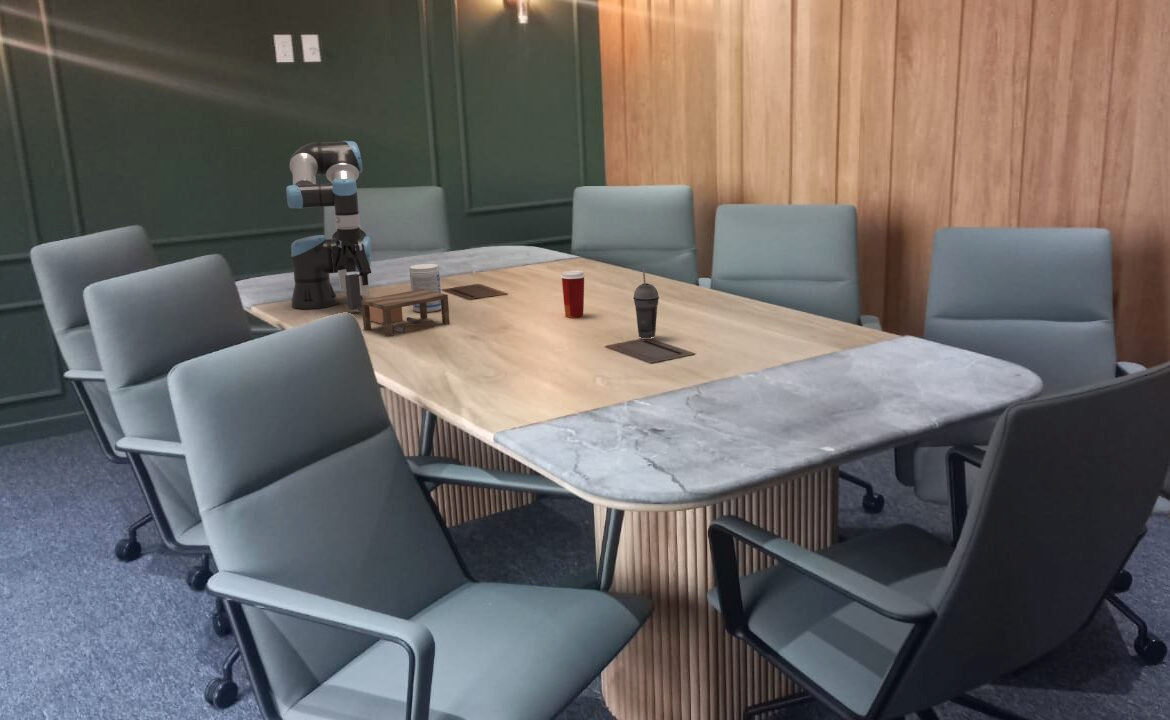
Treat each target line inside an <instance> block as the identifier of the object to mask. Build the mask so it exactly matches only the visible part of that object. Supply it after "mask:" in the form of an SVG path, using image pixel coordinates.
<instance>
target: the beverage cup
mask: <svg viewBox="0 0 1170 720" xmlns="http://www.w3.org/2000/svg"><path fill="white" fill-rule="evenodd" d="M645 270H646V269H645V267H642V276H643V278H642V279H643V283H641V284H640V285H638V286H637V287H636V288H635V290H634V292H633V298H632V299H633V303H634V306H635V314H636V324H637V332H638V338H639V337H641V338H651V337H654V336H655V337H656V331H657V316H658V305H659V299H660V297H659V292H658V290H657V288H656V287H655V286H654V285H653V284H651V283H648V282H646V272H645Z"/></svg>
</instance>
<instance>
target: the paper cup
mask: <svg viewBox="0 0 1170 720" xmlns="http://www.w3.org/2000/svg"><path fill="white" fill-rule="evenodd" d="M585 277H586V275H585V272H584V271H582V270H565V271H562V272H561V275H560V278H561V283H562V284H561V287H562V294H563V295H562V296H563V305H564V315H565V318H567V319H580V317H581V318H583V317H584V306H585V305H584V304H585V303H584V301H585Z"/></svg>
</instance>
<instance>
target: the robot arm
mask: <svg viewBox="0 0 1170 720" xmlns="http://www.w3.org/2000/svg"><path fill="white" fill-rule="evenodd" d="M289 169H290V172H291V174H292V184H291V185H288V186H286V187H285V188H286V189H285V191H286V192H285V193H286V200H287V201H286V202H287V206H288V208H290V209H298V210H299V209H309V208H325V207H327V208H330V207H333V213H334V214H333V215H334V223H335V225H334V226H335V231H334V232H333V234H332V235H331V238H330V239H327V236H326V235H324V234H320V235H318V234H316V235H312V236H306V237H302V238H299V239H296V240H294V241H293V242H292V243H291V246H290V247H291V251H290V252H291V254H290V256H291V258H292V267H293V268H292V269H293V270H292V271H293V279H294V288H293V291H292V296H291V301H290V302H291V307H292V308H293V309H297V310H298V309H299V310H313V309H324V308H329V307H333V306H336V305H337V304H338V298H337V295H336V292H335V291H334V287H333V286H332V283H331V280H330V274H338V284H339V285H338V286H339V290H340V291H342V290H346V281H345V276H346V275H348V273H353V272H354V273H358V272H359V273H358V275H359V283H360V294H361V296H362V297H363V296H367V295H370V290H369V289H370V288H369V276H368V275H369V274H371V273H372V269H371V262H372V238H371V237H370V236H368V235H367V234H366V232H365V230H363V229H362V225H361V218H360V217H361V216H360V207H359V200H358V199H359V198H358V197H359V196H358V187H357V180H358V178H359V176H360V174H362V173H363V160H362V157H361V151H360V148H359V146H358V144H357V142H355V141H352V140H351V141H349V140H343V141H324V142H323V141H322V142H318V141H317V142H310V143H307V144H305V145H302V146H300V147H299V148H298V149H297V150H296V151H294V152H293V154H292V155H291V157H290V159H289ZM316 176H325V177H326V179H327V180H328V181H329V182H330V183H329V182H327V183H317V179H316Z"/></svg>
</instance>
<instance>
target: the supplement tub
mask: <svg viewBox="0 0 1170 720" xmlns="http://www.w3.org/2000/svg"><path fill="white" fill-rule="evenodd" d="M409 279H410V291H415V290H420V289H425V290H429V291H434V292H438V293H442V290H441V288H442V287H441V279H440V269H439V265H438V264H435V263H424V264H423V263H422V264H414V265H411V266H410V267H409ZM426 305H427V313H431V312H437V311H440V310H441V300H437V301H432V302H427V303H426ZM412 309H413V311H414V312H416V313H420V306H419V304H416V305H412Z"/></svg>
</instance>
